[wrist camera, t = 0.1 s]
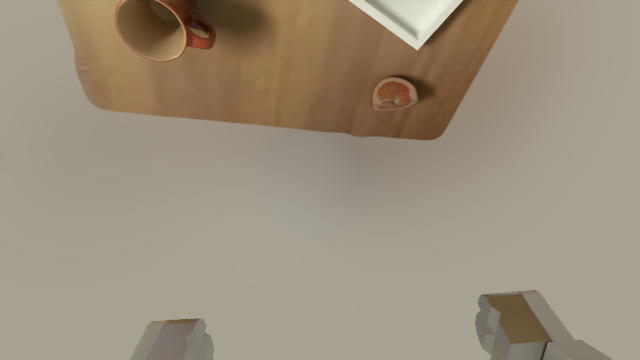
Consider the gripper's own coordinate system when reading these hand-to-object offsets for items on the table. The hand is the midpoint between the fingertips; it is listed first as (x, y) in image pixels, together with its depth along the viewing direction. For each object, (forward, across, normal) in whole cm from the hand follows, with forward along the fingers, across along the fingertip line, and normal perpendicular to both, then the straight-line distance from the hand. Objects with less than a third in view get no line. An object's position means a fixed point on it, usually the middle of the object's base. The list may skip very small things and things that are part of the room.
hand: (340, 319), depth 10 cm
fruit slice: (+58, -12, +9) cm, 60 cm away
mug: (+52, +20, -9) cm, 57 cm away
